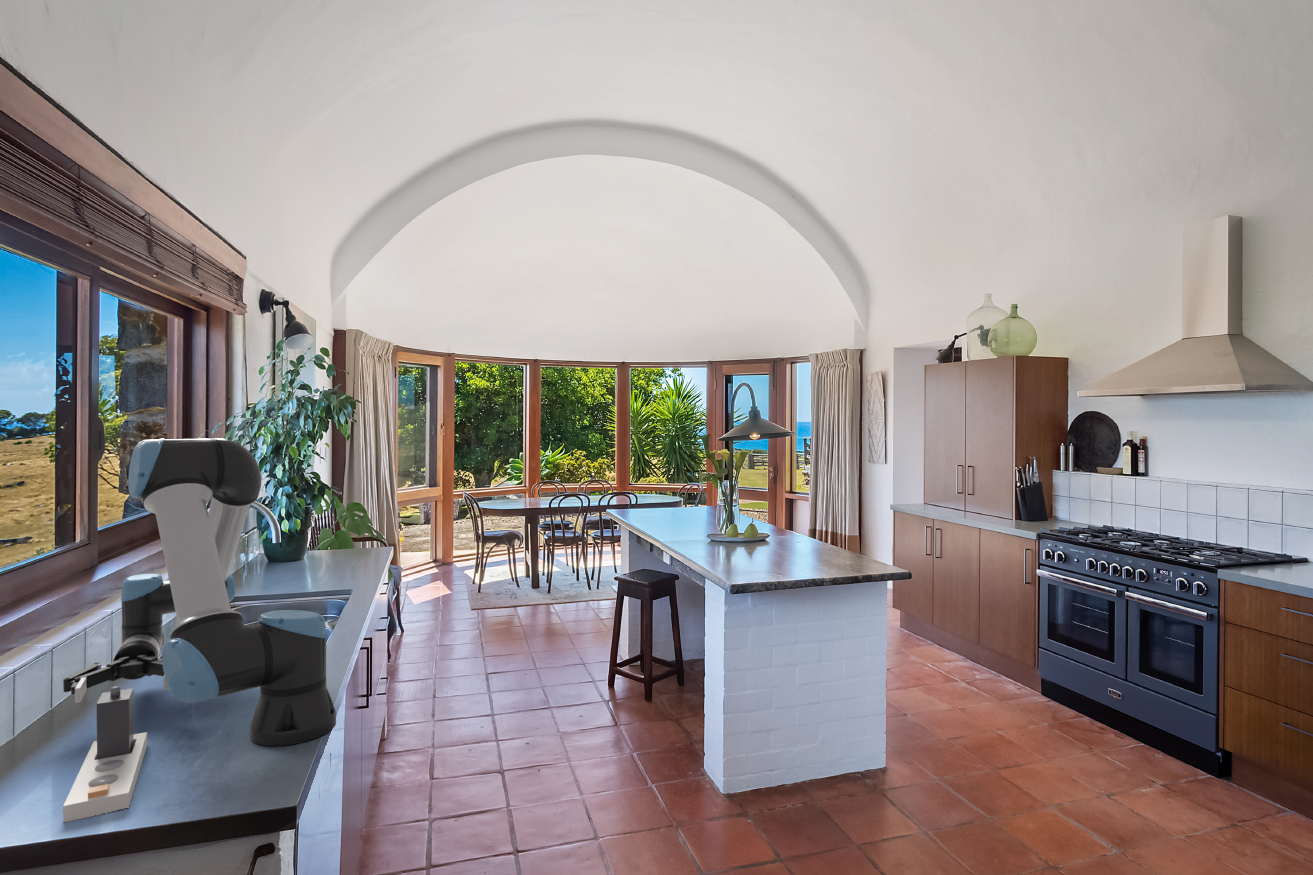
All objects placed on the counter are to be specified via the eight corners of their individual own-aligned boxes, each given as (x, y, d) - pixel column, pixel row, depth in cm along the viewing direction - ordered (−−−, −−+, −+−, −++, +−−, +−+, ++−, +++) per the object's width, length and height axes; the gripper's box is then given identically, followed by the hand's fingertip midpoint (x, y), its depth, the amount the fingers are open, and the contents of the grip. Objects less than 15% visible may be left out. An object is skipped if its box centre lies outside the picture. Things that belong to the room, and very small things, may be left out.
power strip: (93, 754, 131) (93, 736, 131) (147, 745, 135) (147, 727, 135) (63, 822, 109) (63, 800, 109) (128, 808, 113) (128, 787, 113)
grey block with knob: (103, 753, 130) (102, 684, 129) (133, 748, 132) (133, 679, 132) (97, 767, 124) (96, 695, 124) (129, 761, 127) (128, 690, 126)
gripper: (205, 665, 161) (200, 696, 143) (62, 684, 149) (37, 721, 130) (205, 631, 161) (200, 659, 143) (62, 648, 149) (37, 680, 130)
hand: (122, 689), depth 137 cm, fingers open, 13 cm apart
